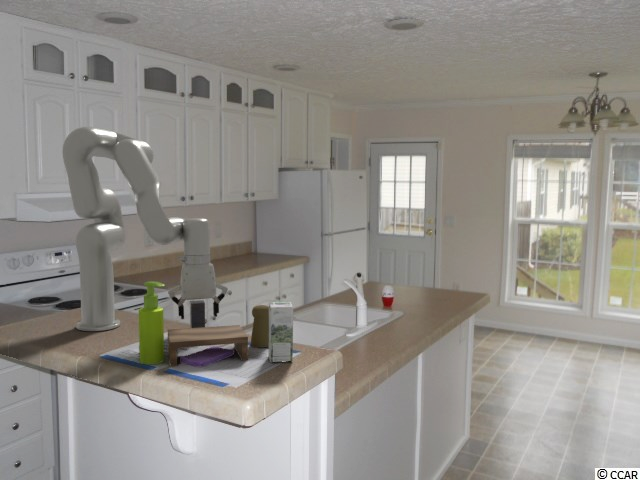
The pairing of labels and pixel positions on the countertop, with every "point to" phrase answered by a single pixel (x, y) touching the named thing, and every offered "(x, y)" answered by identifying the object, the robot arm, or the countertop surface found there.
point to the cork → (260, 326)
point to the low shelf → (207, 339)
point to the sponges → (206, 356)
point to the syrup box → (280, 331)
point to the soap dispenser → (151, 327)
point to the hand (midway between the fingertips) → (199, 317)
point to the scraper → (197, 314)
